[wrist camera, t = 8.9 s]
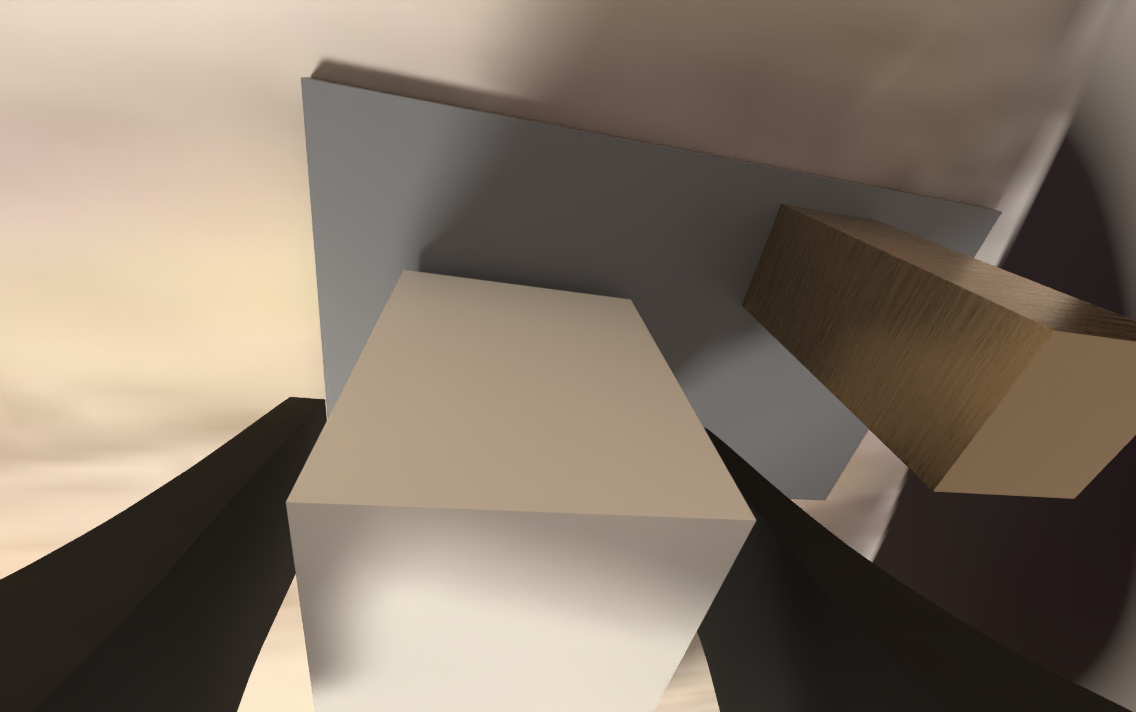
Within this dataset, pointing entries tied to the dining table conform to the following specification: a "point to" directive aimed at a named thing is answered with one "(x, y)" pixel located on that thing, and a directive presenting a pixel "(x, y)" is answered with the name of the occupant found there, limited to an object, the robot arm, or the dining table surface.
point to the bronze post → (950, 355)
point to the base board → (591, 249)
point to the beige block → (508, 509)
